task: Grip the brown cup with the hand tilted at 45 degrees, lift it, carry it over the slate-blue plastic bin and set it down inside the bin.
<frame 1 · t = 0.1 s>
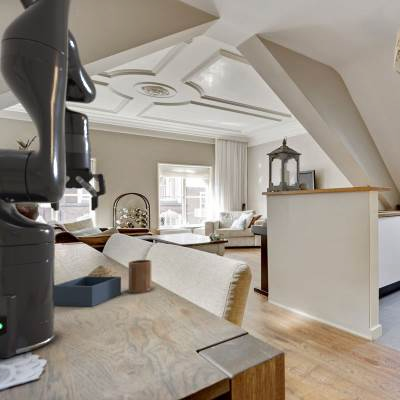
hand: (75, 210, 86), 22 cm above the table, tool pointing down, fingers open, 8 cm apart
brown cup: (140, 290, 87), on the table
bin: (88, 299, 78), on the table
seashell: (101, 280, 99), on the table
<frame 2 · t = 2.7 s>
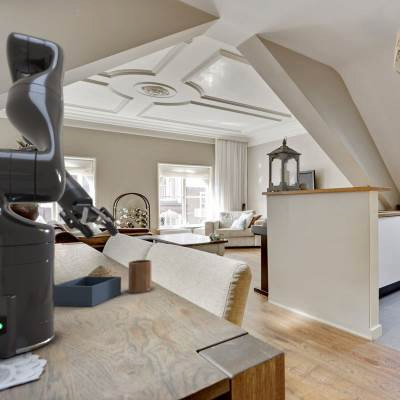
hand: (104, 235, 89), 15 cm above the table, tool tilted 45°, fingers open, 8 cm apart
nothing on the table moved.
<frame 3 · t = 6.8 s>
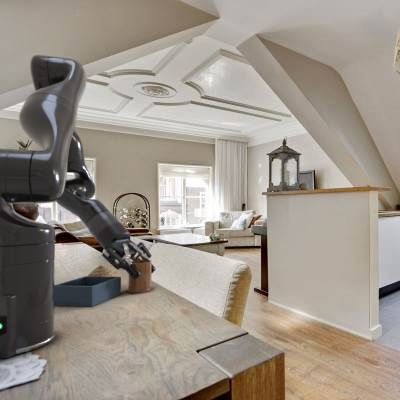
hand: (145, 274, 86), 5 cm above the table, tool tilted 45°, fingers closed on brown cup, 5 cm apart
brown cup: (140, 290, 87), on the table, touching gripper
everything else where it was.
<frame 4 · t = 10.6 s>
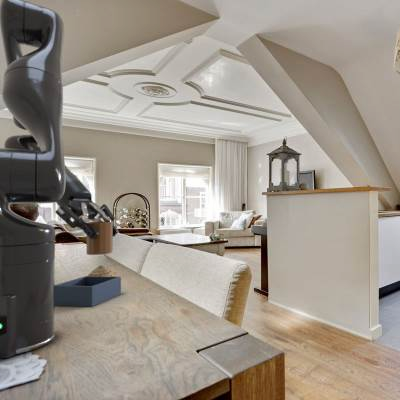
hand: (105, 235, 80), 16 cm above the table, tool tilted 45°, fingers closed on brown cup, 5 cm apart
brown cup: (99, 253, 80), point 11 cm above the table, touching gripper
everything else where it was.
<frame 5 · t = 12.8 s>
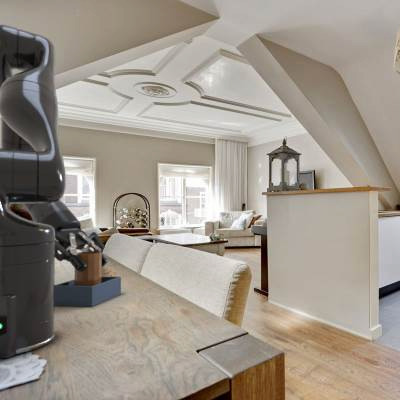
hand: (94, 266, 78), 8 cm above the table, tool tilted 45°, fingers closed on brown cup, 5 cm apart
brown cup: (88, 284, 79), point 4 cm above the table, touching gripper
everything else where it was.
when the fingers open (5 cm above the table, at t = 14.4 s): brown cup stays where it is, resting on bin.
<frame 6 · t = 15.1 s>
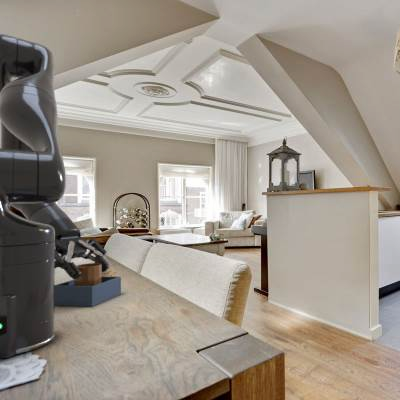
hand: (93, 273, 78), 7 cm above the table, tool tilted 45°, fingers open, 8 cm apart
brown cup: (88, 296, 79), point 1 cm above the table, touching bin
everything else where it was.
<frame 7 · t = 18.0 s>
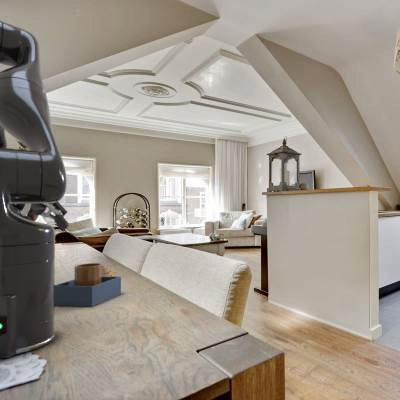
hand: (50, 228, 81), 18 cm above the table, tool tilted 45°, fingers open, 8 cm apart
nothing on the table moved.
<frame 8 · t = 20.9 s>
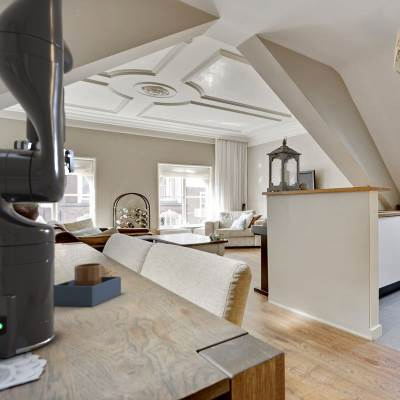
hand: (45, 187, 77), 28 cm above the table, tool pointing down, fingers open, 8 cm apart
nothing on the table moved.
at the end: brown cup inside the target area in the bin (0.1 cm from its centre), point 0.6 cm above the bin's base; brown cup tilted 0°; the gripper is holding nothing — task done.
